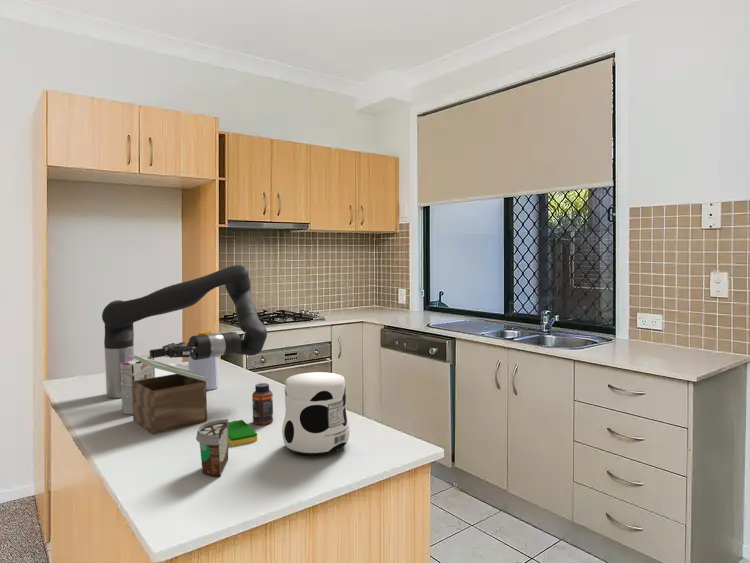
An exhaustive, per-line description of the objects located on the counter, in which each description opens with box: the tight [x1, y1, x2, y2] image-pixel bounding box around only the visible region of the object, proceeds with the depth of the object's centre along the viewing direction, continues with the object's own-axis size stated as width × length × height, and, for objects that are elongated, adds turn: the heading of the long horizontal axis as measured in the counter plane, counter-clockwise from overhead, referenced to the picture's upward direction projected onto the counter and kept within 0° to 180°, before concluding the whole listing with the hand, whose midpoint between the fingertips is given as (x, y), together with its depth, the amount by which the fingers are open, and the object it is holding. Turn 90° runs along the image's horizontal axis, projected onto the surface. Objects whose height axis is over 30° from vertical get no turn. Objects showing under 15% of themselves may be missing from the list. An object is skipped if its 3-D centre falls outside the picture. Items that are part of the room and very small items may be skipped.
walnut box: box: [132, 374, 208, 435], centre depth 160 cm, size 16×16×12 cm
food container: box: [195, 418, 229, 478], centre depth 126 cm, size 12×6×10 cm, turn 5°
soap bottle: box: [187, 330, 220, 391], centre depth 198 cm, size 13×8×20 cm, turn 58°
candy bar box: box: [120, 355, 155, 416], centre depth 171 cm, size 11×5×16 cm, turn 168°
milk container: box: [281, 371, 351, 456], centre depth 138 cm, size 17×17×18 cm
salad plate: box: [154, 362, 189, 377], centre depth 212 cm, size 21×21×3 cm
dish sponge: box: [228, 419, 258, 447], centre depth 148 cm, size 7×14×2 cm, turn 31°
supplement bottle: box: [251, 382, 274, 426], centre depth 159 cm, size 6×6×11 cm
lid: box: [134, 354, 208, 382], centre depth 160 cm, size 17×17×1 cm
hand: (150, 354), depth 156 cm, fingers closed
